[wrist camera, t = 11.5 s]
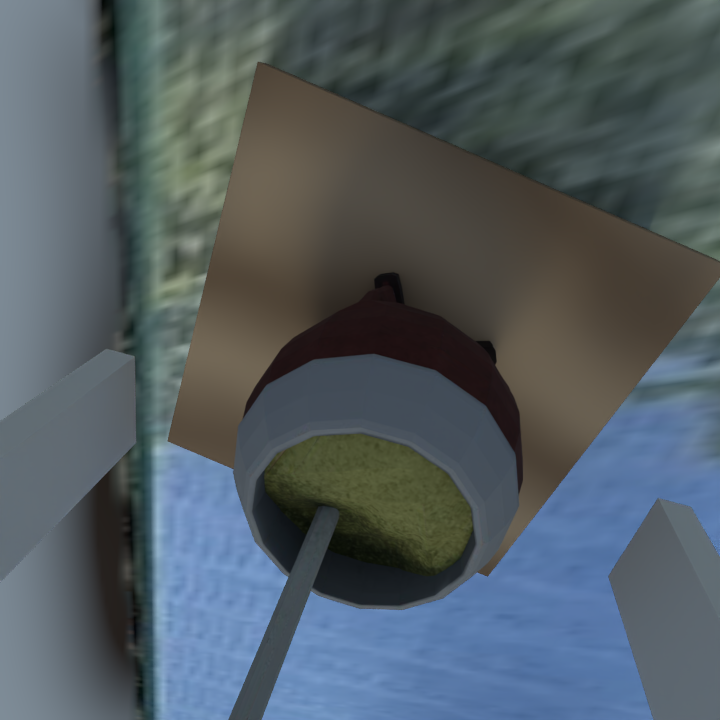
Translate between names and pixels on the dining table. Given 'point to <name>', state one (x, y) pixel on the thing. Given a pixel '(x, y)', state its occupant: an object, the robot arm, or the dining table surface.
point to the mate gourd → (374, 466)
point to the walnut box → (427, 273)
